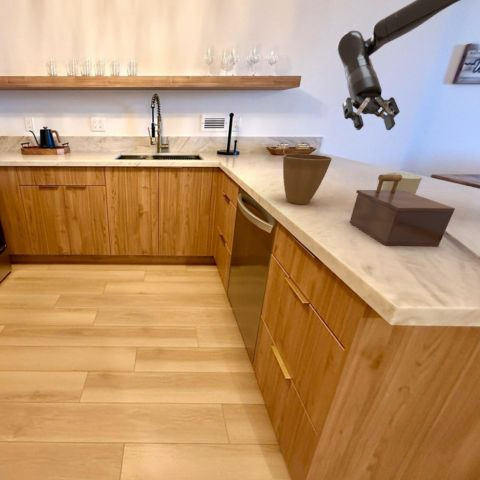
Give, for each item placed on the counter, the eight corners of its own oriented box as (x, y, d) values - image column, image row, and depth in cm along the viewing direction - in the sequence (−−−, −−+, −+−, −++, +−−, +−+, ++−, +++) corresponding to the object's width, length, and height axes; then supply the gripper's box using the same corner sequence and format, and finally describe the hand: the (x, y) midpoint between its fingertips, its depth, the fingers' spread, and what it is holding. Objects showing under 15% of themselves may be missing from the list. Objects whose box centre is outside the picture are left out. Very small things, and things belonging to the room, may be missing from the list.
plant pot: (323, 209, 95) (335, 160, 88) (276, 205, 100) (284, 158, 93) (318, 198, 108) (328, 154, 101) (276, 194, 112) (283, 152, 106)
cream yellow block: (374, 204, 100) (385, 169, 95) (407, 209, 95) (421, 173, 90) (373, 211, 93) (385, 174, 88) (409, 217, 88) (424, 178, 83)
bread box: (349, 222, 84) (357, 193, 80) (393, 223, 83) (403, 193, 80) (385, 245, 70) (397, 211, 66) (438, 246, 69) (453, 211, 66)
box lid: (356, 192, 81) (361, 172, 79) (401, 192, 81) (408, 172, 78) (397, 211, 66) (405, 187, 64) (453, 211, 66) (464, 187, 63)
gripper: (346, 75, 85) (358, 118, 79) (396, 75, 84) (411, 118, 79) (333, 96, 92) (342, 137, 86) (378, 96, 91) (391, 137, 86)
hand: (375, 128), depth 82 cm, fingers open, 8 cm apart
